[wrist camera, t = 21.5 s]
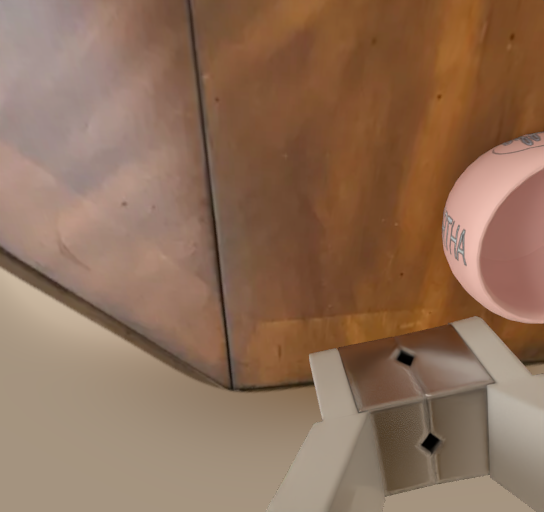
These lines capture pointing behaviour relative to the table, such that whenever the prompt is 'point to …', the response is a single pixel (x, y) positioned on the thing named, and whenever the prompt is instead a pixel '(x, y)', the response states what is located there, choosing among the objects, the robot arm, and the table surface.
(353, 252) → the table surface
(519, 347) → the table surface
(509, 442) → the robot arm
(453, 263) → the mug
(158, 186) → the table surface
